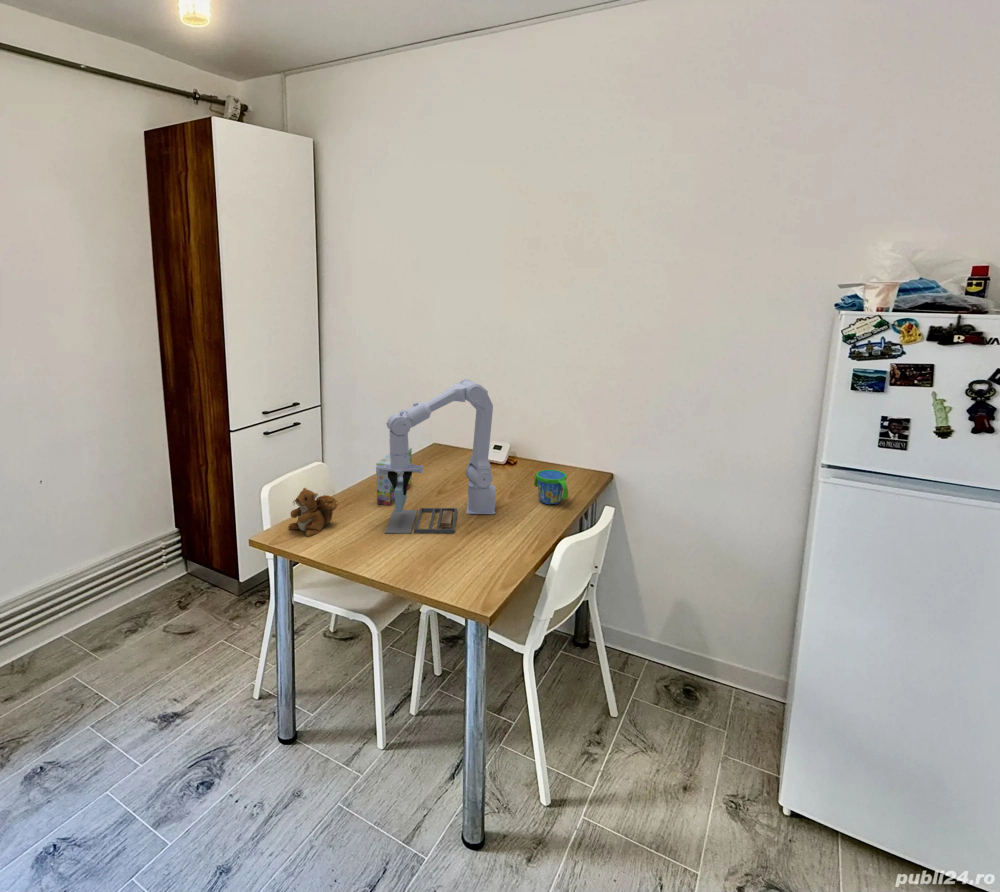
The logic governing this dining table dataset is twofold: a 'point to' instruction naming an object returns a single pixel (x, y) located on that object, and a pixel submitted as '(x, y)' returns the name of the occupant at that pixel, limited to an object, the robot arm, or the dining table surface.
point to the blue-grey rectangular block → (399, 496)
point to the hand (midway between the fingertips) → (400, 493)
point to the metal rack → (430, 530)
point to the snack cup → (551, 486)
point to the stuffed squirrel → (312, 512)
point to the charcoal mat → (401, 522)
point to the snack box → (388, 483)
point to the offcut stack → (446, 520)
